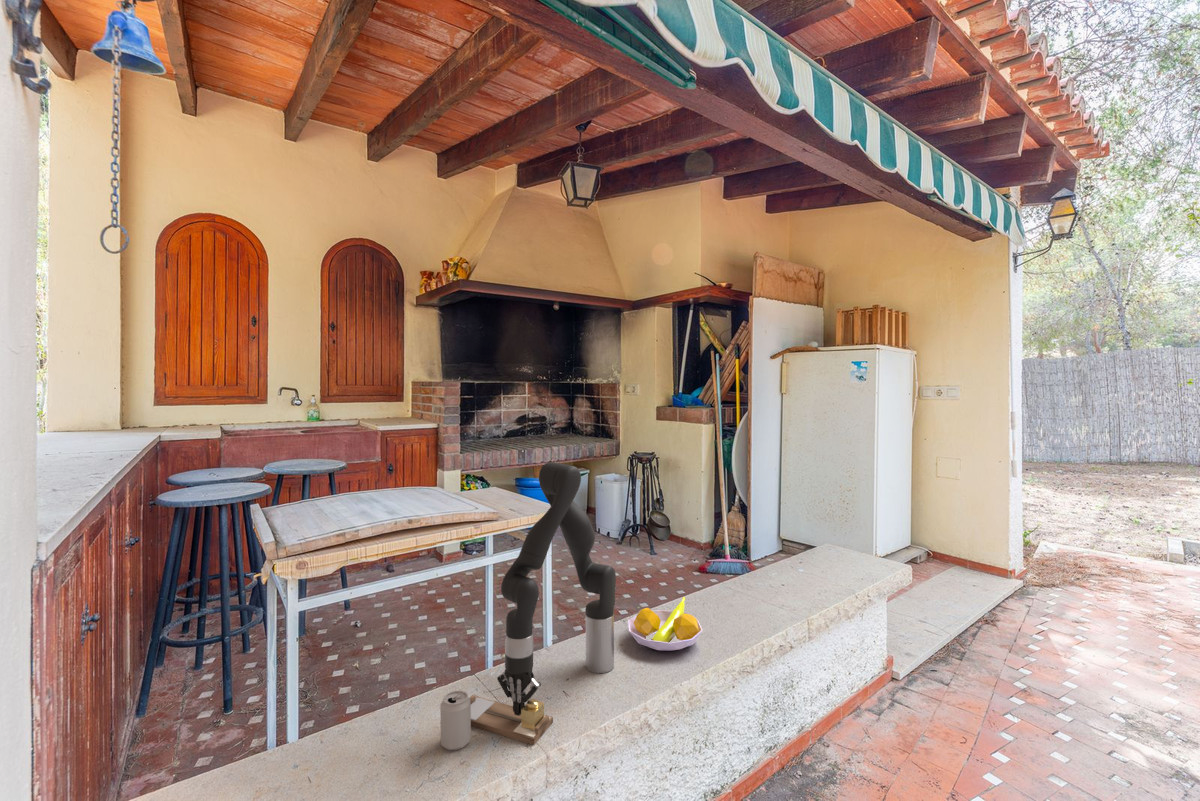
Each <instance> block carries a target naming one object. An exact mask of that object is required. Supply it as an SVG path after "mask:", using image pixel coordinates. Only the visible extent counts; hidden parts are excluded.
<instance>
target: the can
mask: <svg viewBox="0 0 1200 801" xmlns="http://www.w3.org/2000/svg"><path fill="white" fill-rule="evenodd" d="M468 695H469V694H468V692H466V691H464V690H453V691H450V692H448V693H446V694H445V695H444V696H443V698H442V701H441V702H440V704H439V706H440V708H439V709H440V745H441V746H442V747H443V748H445V749H446V750H448V751H457V750H458V751H459V750H461V749H463V748H464V747H466V746H467V744H469V742H470V740H471V738H472V730H471V729H472V726H471V702H470V696H468Z"/></svg>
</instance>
